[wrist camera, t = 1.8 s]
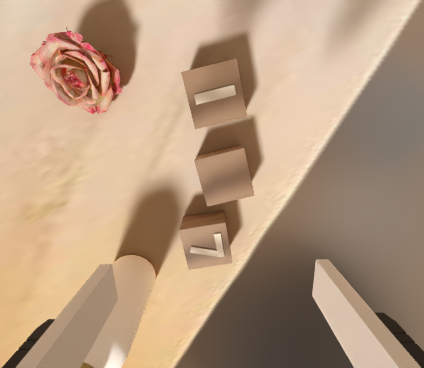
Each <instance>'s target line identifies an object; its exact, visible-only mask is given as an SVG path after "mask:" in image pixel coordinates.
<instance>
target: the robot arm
mask: <svg viewBox="0 0 424 368" xmlns="http://www.w3.org/2000/svg"><path fill="white" fill-rule="evenodd" d="M312 296H313V298H314V299H315V301H316V303H317V305H318V306H319V308H320V310H321V311H322V313H323V315H324V317H325V318H326V320H327V322H328V323H329V325H330V327H331V329H332V330H333V332H334V334H335V336H336V337H337V339H338V341H339V342H340V344H341V346H342V348H343V349H344V351H345V353H346V354H347V356H348V358H349V359H350V361H351V363H352V365H353V367H354V368H424V351H423V350H422V349H421V348H420V347H419V346H418V345H417V344H415V342H414V341H413V339H412V338H411V337H410V336H409V335H407V334H406V332H405V331H404V330H403V329H402V328H401V327H400V326H399V324H397V322H396V321H394V320H393V319H391V318H390V317H389V316H387V315H386V314H384V313H374V312H373V311H372V310H371V309H370V308H369V306H368V305H367V304H366V303H365V302H364V301H363V299H362V298H361V297H360V296H359V295H358V294H357V292H356V291H355V290H354V289H353V288H352V287H351V285H350V284H349V283H348V282H347V281H346V280H345V278H344V277H343V276H342V275H341V274H340V273H339V271H338V270H337V269H336V268H335V267H334V266H333V264H332V263H331V262H330V261H329V260H327V259H326V260H316V265H315V275H314V285H313V294H312ZM117 301H118V295H117V290H116V284H115V278H114V272H113V267H112V264H103V265H100V266H99V267H98V268H97V269H96V270H95V272H94V273H93V274H92V275H91V277H90V278H89V279H88V280H87V281H86V283H85V284H84V285H83V286H82V288H81V289H80V290H79V291H78V292H77V294H76V295H75V296H74V297H73V298H72V300H71V301H70V302H69V303H68V305H67V306H66V307H65V308H64V309H63V311H62V312H61V313H60V314H59V315H58V317H57V318H56V319H48V320H47V321H46V322H44V323H43V324H42V325H40V326H39V327H38V328H36V330H35V331H34V332H33V333H32V334H31V335H30V336H29V337H28V339H27V341H26V342H24V343H23V344H22V345H21V347H20V348H19V350H18V351H16V352H15V353H14V355H13V356H12V357H11V358H10V359H9V360H8V361H7V363H6V364H5V365H4V366H3V367H2V368H81V366H82V364H83V362H84V360H85V359H86V357H87V355H88V353H89V351H90V350H91V348H92V346H93V344H94V342H95V341H96V339H97V337H98V335H99V333H100V332H101V330H102V328H103V326H104V324H105V322H106V321H107V319H108V317H109V315H110V313H111V312H112V310H113V308H114V306H115V304H116V303H117Z"/></svg>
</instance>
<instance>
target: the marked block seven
mask: <svg viewBox="0 0 424 368" xmlns="http://www.w3.org/2000/svg"><path fill="white" fill-rule="evenodd" d="M180 235H181V239H182V243H183V247H184V251H185V256H186V260H187V264H188V268H189V269H196V268H202V267H209V266H215V265H222V264H228V263H232V257H231V250H230V244H229V238H228V233H227V227H226V221H225V215H224V210H223V211H217V212H211V213H205V214H198V215H192V216H186V217H183V220H182V224H181V227H180Z"/></svg>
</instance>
